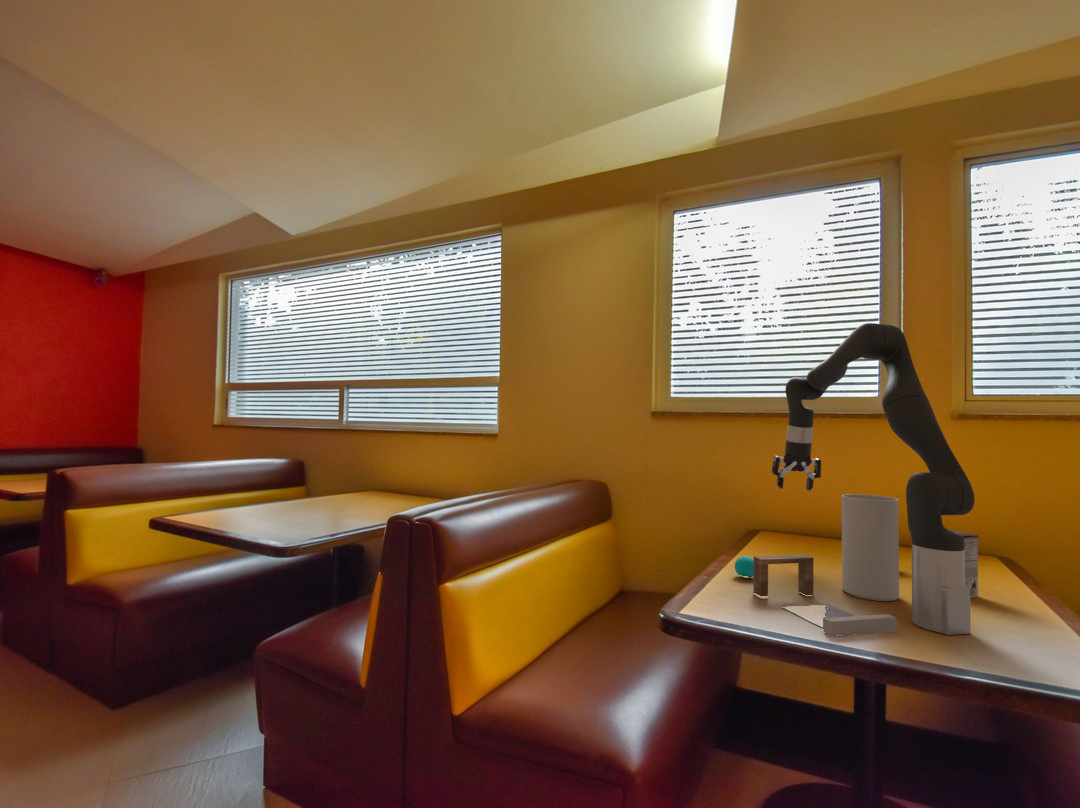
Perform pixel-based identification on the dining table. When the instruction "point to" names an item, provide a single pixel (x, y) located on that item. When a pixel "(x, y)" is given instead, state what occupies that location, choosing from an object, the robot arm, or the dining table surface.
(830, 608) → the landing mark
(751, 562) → the ball
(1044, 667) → the dining table surface
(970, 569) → the coffee box
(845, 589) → the cylinder vase
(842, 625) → the stopper wall
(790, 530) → the dining table surface
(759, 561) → the bridge
